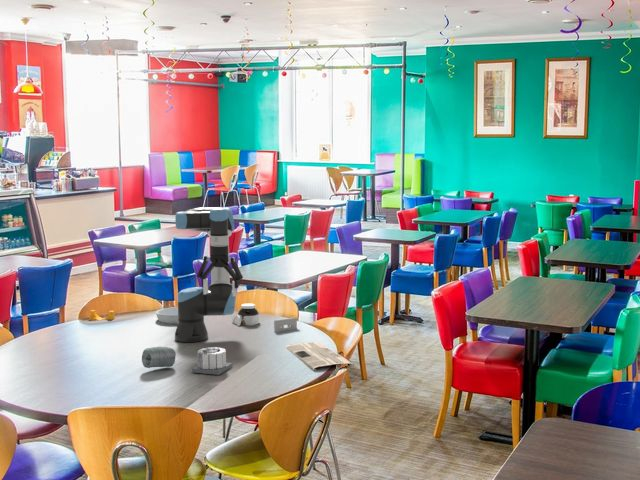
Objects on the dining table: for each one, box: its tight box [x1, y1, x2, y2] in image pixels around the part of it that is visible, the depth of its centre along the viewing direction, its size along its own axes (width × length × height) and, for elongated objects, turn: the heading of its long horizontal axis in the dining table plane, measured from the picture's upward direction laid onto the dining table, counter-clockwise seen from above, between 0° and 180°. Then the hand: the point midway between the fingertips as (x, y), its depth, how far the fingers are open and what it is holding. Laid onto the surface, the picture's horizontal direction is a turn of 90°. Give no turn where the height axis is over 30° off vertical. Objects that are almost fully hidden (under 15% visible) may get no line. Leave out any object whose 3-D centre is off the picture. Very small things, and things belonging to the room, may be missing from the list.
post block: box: [191, 350, 233, 376], centre depth 305 cm, size 12×12×8 cm
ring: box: [197, 346, 227, 369], centre depth 305 cm, size 11×11×6 cm
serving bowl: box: [155, 306, 178, 325], centre depth 387 cm, size 21×21×7 cm
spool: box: [141, 346, 176, 369], centre depth 306 cm, size 14×10×10 cm
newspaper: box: [284, 341, 356, 372], centre depth 322 cm, size 37×19×3 cm, turn 21°
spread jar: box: [231, 302, 260, 327], centre depth 377 cm, size 12×11×12 cm
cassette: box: [273, 317, 298, 333], centre depth 363 cm, size 12×2×8 cm, turn 122°
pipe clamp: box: [88, 309, 116, 321], centre depth 389 cm, size 12×4×6 cm, turn 82°
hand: (220, 294), depth 324 cm, fingers open, 13 cm apart
